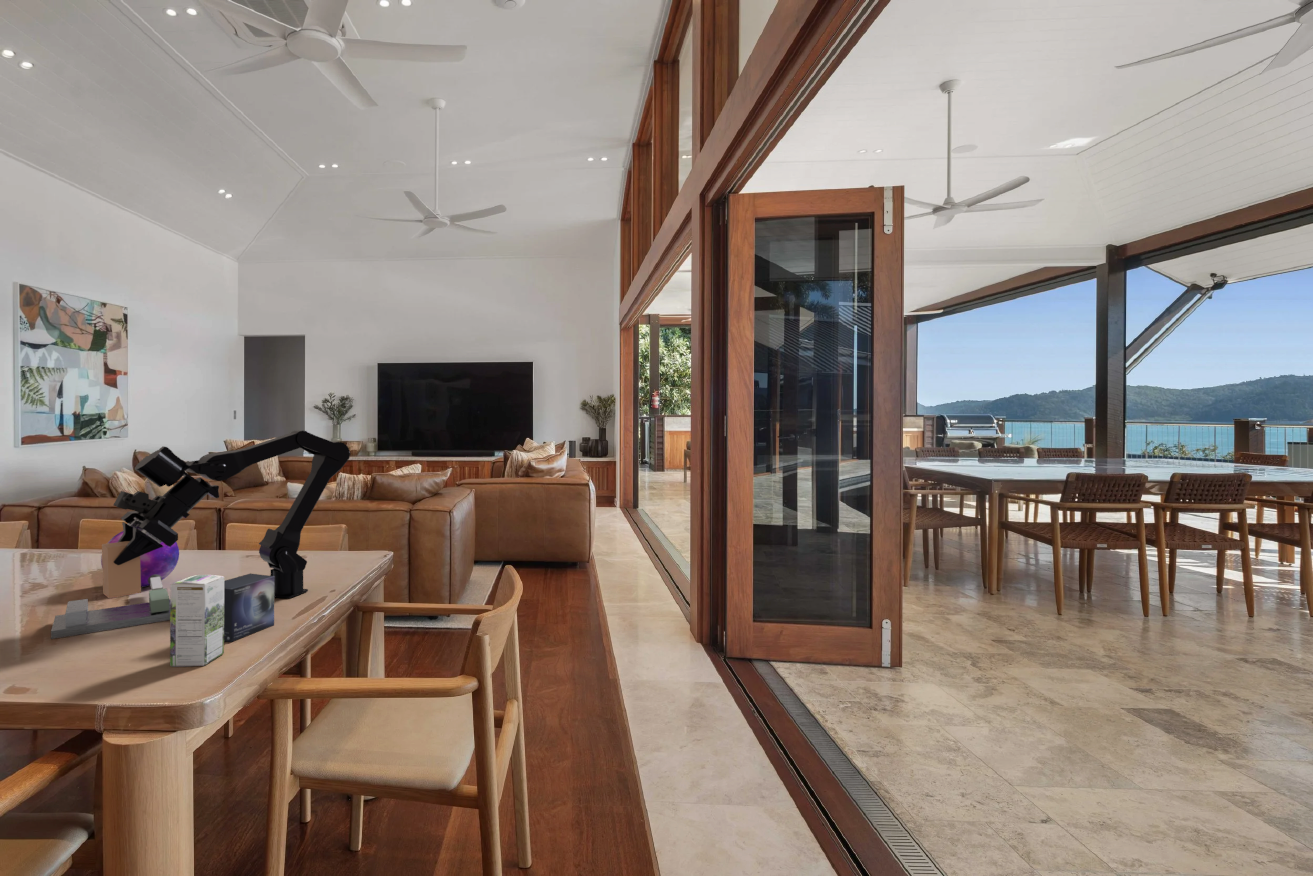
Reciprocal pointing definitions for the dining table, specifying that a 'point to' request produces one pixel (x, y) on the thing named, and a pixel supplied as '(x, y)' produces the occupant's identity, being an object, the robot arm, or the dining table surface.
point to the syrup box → (196, 620)
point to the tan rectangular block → (119, 572)
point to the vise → (102, 618)
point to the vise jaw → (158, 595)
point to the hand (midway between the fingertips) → (112, 561)
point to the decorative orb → (155, 561)
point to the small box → (248, 605)
